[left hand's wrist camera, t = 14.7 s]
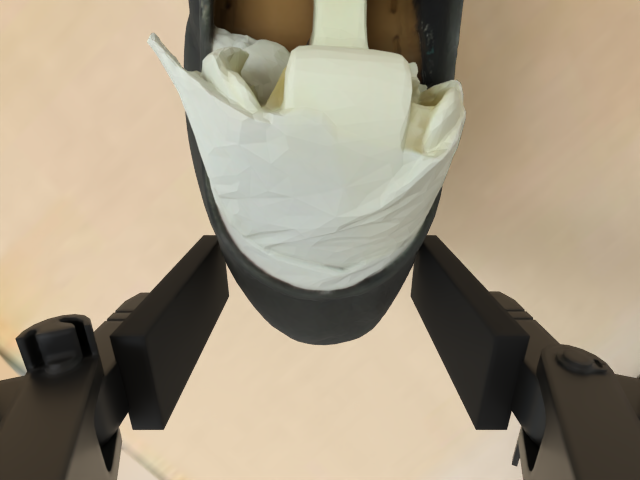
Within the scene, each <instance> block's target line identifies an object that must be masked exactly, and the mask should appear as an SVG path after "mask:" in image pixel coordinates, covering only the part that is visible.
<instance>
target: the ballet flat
mask: <svg viewBox="0 0 640 480" xmlns="http://www.w3.org/2000/svg"><path fill="white" fill-rule="evenodd" d="M189 8H190V14H189V18H188V22H187V26H186V33H185V47H184V68H183V67H181V65H180V63H179V62H178V60H177V59H176V57H175V56H173V55H172V54H171V53H170V52H169V51H168V49H167V48H166V47H165V46H164V45H163V43H162V42H161V41H160V39H159V37H158V36H157V35H156V34H155V33H151V35H150V37H149V39H148V44H149V45H150V46H151V48H152V49H153V50H154V52H155V53H156V54H157V56H158V58H159V59H160V61H161V63H162V65H163V66H164V68H165V70H166V71H167V73H168V75H169V77H170V78H171V80H172V82H173V83H174V85H175V87H176V89H177V91H178V92H179V95H180V97H181V100H182V103H183V106H184V108H185V113H186V123H187V131H188V138H189V144H190V150H191V155H192V159H193V164H194V169H195V173H196V177H197V180H198V184H199V188H200V191H201V195H202V199H203V202H204V206H205V208H206V211H207V214H208V217H209V220H210V223H211V225H212V228H213V230H214V232H215V234H216V237H217V239H218V242H219V245H220V249H221V253H222V255H223V257H224V259H225V261H226V264H227V266H228V268H229V269H230V271H231V273H232V275H233V277H234V278H235V280H236V282H237V284H238V285H239V286H240V288H241V289H242V291H243V292H244V294H245V295H246V297H247V298H248V299H249V301H250V302H251V303H252V305H253V306H254V307H255V308H256V310H257V311H258V312H259V313H260V314H261V315H262V316H263V318H264V319H265V320H266V321H268V322H269V323H270V324H271V325H272V326H273V327H274V328H276V329H278V330H279V331H281V332H282V333H284V334H285V335H287V336H288V337H290V338H292V339H294V340H296V341H299V342H303V343H307V344H313V345H330V344H338V343H342V342H347V341H351V340H354V339H357V338H360V337H361V336H363V335H365V334H366V333H368V332H369V331H370V330H372V329H373V328H374V327H375V326H376V325H377V323H378V322H379V321H380V320H381V318H382V317H383V316H384V314H385V313H386V312H387V310H388V308H389V307H390V305H391V304H392V302H393V301H394V299H395V297H396V296H397V294H398V293H399V291H400V289H401V287H402V285H403V283H404V282H405V280H406V278H407V276H408V274H409V272H410V270H411V268H412V266H413V264H414V261H415V259H416V256H417V253H418V250H419V248H420V247H421V245H422V243H423V241H424V239H425V237H426V235H427V233H428V231H429V229H430V226H431V224H432V222H433V219H434V217H435V214H436V211H437V207H438V203H439V200H440V196H441V191H442V185H443V182H444V180H445V177H446V175H447V172H448V169H449V167H450V164H451V161H452V158H453V156H454V154H455V152H456V150H457V148H458V144H459V141H460V137H461V134H462V130H463V126H464V123H465V119H466V111H465V108H464V106H463V91H462V86H461V83H460V82H459V81H458V80H454V75H455V64H456V57H457V48H458V44H459V33H460V25H461V16H462V8H463V0H189Z"/></svg>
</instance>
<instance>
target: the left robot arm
mask: <svg viewBox="0 0 640 480" xmlns="http://www.w3.org/2000/svg"><path fill="white" fill-rule="evenodd" d="M228 297H229V291H228V281H227V271H226V261H225V259H224V257H223V255H222V253H221V249H220V245H219V242H218V239H217V237H216V235H203V237H202V238H201V239H200V240H199V241H198V242H197V243H196V244H195V245H194V246H193V247H192V248H191V249H190V250H189V252H188V253H187V254H186V255H185V256H184V257H183V258H182V259H181V260H180V261H179V262H178V263H177V264H176V265H175V267H174V268H173V269H172V270H171V271H170V272H169V273H168V274H167V275H166V276H165V277H164V278H163V279H162V280H161V281H160V283H159V284H158V285H157V286H156V287H155V288H154V289H153V290H152V291H151V292H150V293H139V294H137V295H136V296H134V297H132V298H130V299H128V300H127V301H125V302H124V303H123V304H122V305H121V306H120V307H119V308H118V309H117V310H116V312H115V313H113V314H112V315H111V316H110V317H109V318H108V319H107V321H105V322H104V323H103V324H102V325H101V326H100V327H98V328H97V329H96V330H95V331H94V332H93V328H92V324H91V321H90V319H89V318H88V317H86V316H85V315H77V314H72V315H62V316H58V317H54V318H50V319H47V320H44V321H42V322H39V323H37V324H34V325H33V326H31V327H29V328H28V329H26V330H24V331H23V332H22V333H21V334H20V335H19V336H18V337H17V338H16V342H17V344H18V347H19V350H20V353H21V355H22V358H23V361H24V364H25V366H26V369H27V373H26V375H25V376H21V377H16V378H11V379H6V380H1V381H0V480H117V475H118V468H119V460H120V453H121V445H122V438H121V433H120V429H119V426H120V424H121V423H122V421H123V419H124V418H125V416H126V415H127V413H129V417H130V421H131V425H132V429H133V430H164V428H165V426H166V424H167V422H168V420H169V418H170V416H171V414H172V412H173V410H174V408H175V406H176V404H177V402H178V400H179V397H180V395H181V393H182V391H183V389H184V387H185V385H186V383H187V381H188V379H189V377H190V375H191V373H192V371H193V369H194V367H195V365H196V363H197V361H198V359H199V357H200V355H201V353H202V350H203V348H204V346H205V344H206V342H207V340H208V338H209V336H210V334H211V332H212V330H213V328H214V326H215V324H216V322H217V320H218V318H219V316H220V314H221V312H222V310H223V308H224V306H225V304H226V301H227V299H228ZM411 298H412V300H413V302H414V304H415V306H416V308H417V310H418V312H419V314H420V316H421V318H422V320H423V322H424V324H425V327H426V329H427V331H428V333H429V335H430V337H431V339H432V341H433V343H434V345H435V347H436V349H437V351H438V353H439V355H440V357H441V359H442V361H443V363H444V365H445V367H446V369H447V371H448V374H449V376H450V378H451V380H452V382H453V384H454V386H455V388H456V390H457V392H458V394H459V396H460V398H461V400H462V402H463V404H464V406H465V408H466V410H467V412H468V414H469V416H470V418H471V420H472V423H473V425H474V427H475V429H476V430H507V427H508V423H509V419H510V415H511V411H512V412H513V413H514V415H515V416H516V418H517V420H518V421H519V423H520V424H521V429H520V433H519V437H518V440H517V444H516V448H515V452H514V455H513V460H512V465H514V466H517V465H518V461H519V458H520V459H521V467H522V474H523V480H640V379H637V378H632V377H627V376H622V375H617V374H614V372H613V370H612V369H611V368H610V367H609V366H608V365H607V363H606V362H604V361H603V360H601V359H600V358H598V357H597V356H596V355H594V354H592V353H589V352H587V351H585V350H583V349H580V348H577V347H573V346H570V345H562V344H559V343H558V342H557V341H556V340H555V339H554V338H553V337H552V336H551V335H550V334H549V333H548V332H547V331H546V330H545V329H544V328H543V327H542V326H541V325H540V324H539V323H538V322H537V321H536V320H533V317H532V316H531V315H530V314H528V313H527V312H525V311H524V309H523V308H522V307H521V306H520V305H519V304H518V303H517V302H516V301H515V300H514V299H512V298H510V297H508V296H507V295H505V294H503V293H501V292H489V291H488V290H487V289H486V288H485V287H484V286H483V285H482V284H481V283H480V282H479V281H478V280H477V279H476V278H475V276H474V275H473V274H472V273H471V272H470V271H469V270H468V269H467V268H466V267H465V266H464V265H463V264H462V263H461V261H460V260H459V259H458V258H457V257H456V256H455V255H454V254H453V253H452V252H451V251H450V250H449V249H448V248H447V246H446V245H445V244H444V243H443V242H442V241H441V240H440V239H439V238H438V237H437V236H436V235H426V237H425V239H424V241H423V243H422V245H421V247H420V248H419V250H418V253H417V256H416V259H415V261H414V269H413V278H412V288H411Z"/></svg>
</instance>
